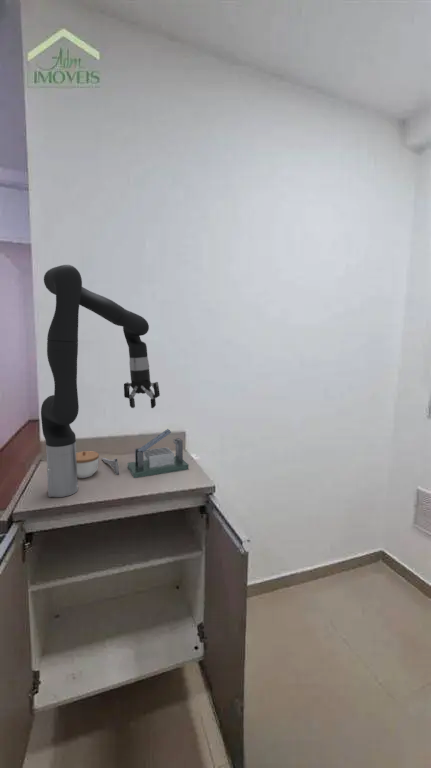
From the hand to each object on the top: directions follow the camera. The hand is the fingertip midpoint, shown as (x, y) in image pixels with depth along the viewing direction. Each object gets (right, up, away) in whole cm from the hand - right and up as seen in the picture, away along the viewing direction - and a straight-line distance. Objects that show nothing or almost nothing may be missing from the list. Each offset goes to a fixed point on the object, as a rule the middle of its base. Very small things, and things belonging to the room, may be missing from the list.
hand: (143, 407), depth 142 cm
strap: (+5, -14, -2) cm, 15 cm away
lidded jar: (-21, -26, -7) cm, 34 cm away
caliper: (-14, -25, +1) cm, 29 cm away
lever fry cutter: (+6, -25, 0) cm, 25 cm away
